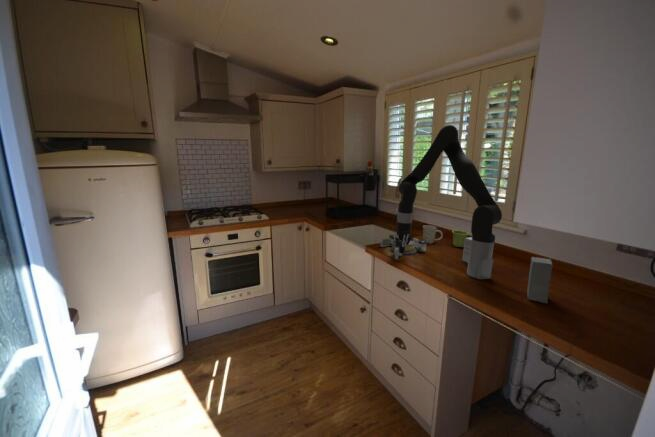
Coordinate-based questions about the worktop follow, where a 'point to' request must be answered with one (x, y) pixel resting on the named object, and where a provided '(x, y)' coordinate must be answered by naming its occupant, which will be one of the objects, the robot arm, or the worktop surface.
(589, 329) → the worktop surface
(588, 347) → the worktop surface
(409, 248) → the level instrument
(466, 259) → the supplement box
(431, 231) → the mug
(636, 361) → the worktop surface
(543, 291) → the skincare box
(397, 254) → the footscrew left
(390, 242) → the footscrew far
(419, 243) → the footscrew right
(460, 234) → the plant pot
